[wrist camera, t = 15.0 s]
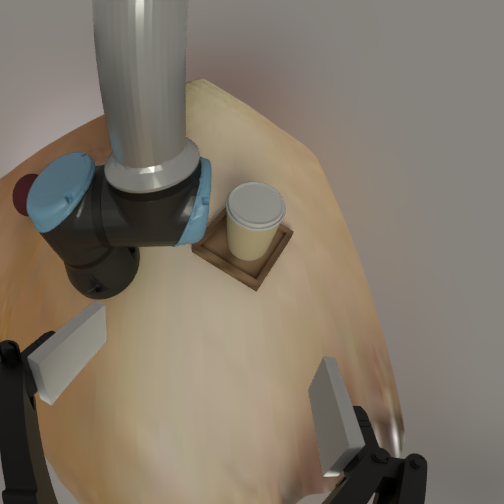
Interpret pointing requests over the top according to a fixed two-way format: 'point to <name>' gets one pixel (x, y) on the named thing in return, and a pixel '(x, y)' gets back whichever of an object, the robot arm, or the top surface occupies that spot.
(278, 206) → the coffee cup
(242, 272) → the coaster tray
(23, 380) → the robot arm
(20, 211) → the decorative ball
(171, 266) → the top surface
